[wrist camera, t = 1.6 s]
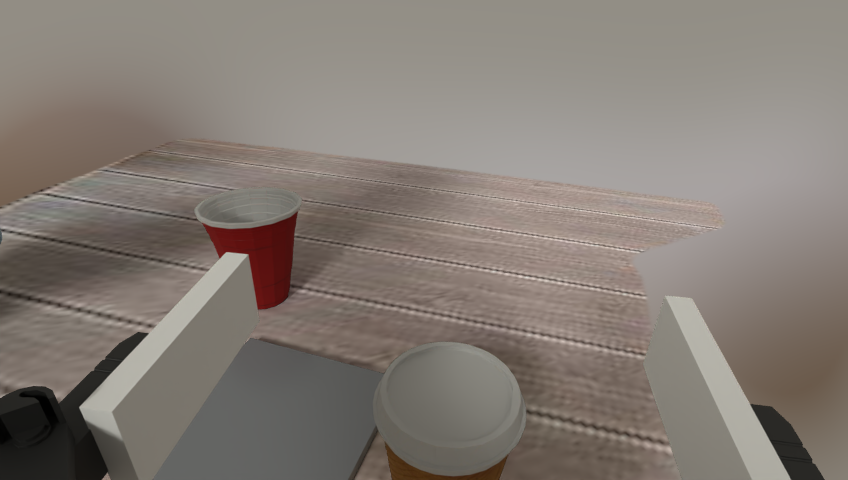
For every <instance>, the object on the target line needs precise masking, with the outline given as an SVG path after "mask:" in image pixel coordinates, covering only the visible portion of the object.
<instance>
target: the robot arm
mask: <svg viewBox="0 0 848 480" xmlns="http://www.w3.org/2000/svg"><path fill="white" fill-rule="evenodd" d="M1 241H2V233H1V230H0V244H1ZM259 321H260V320H259V314H258V308H257V302H256V296H255V291H254V285H253V279H252V273H251V267H250V261H249V255H248V254H240V253H230V252H226V253H225V254H224V255H223V256H222V257H221V258H220V259H219V260H218V261H217V262H216V263H215V265H214V266H213V267H212V268H211V269H210V270H209V271H208V272H207V273H206V274H205V275H204V276H203V277H202V278H201V279H200V280H199V281H198V282H197V284H196V285H195V286H194V287H193V288H192V289H191V290H190V291H189V292H188V293H187V294H186V295H185V296H184V297H183V298H182V299H181V300H180V301H179V303H178V304H177V305H176V306H175V307H174V308H173V309H172V310H171V311H170V312H169V313H168V314H167V315H166V316H165V317H164V318H163V319H162V320H161V321H160V323H159V324H158V325H157V326H156V327H155V328H154V329H153V330H152V331H151V332H150V333H141V332H138V333H136V334H134V335H133V336H131V337H129V338H128V339H126V340H124V341H122V342H121V343H119V344H118V345H117V346H116V347H115V348H114V349H113V350H112V351H111V352H110V353H109V354H108V355H107V356H106V359H105V360H102V361H101V362H100V363H99V364H98V365H97V366H96V367H95V368H94V371H91V372H90V373H89V374H88V375H87V376H86V377H85V378H84V379H83V380H82V381H81V382H80V383H79V384H78V385H77V386H76V387H75V388H74V389H73V390H72V391H71V392H70V393H69V394H68V395H67V396H66V397H65V398H64V399H63V400H62V401H61V402H60V403H59V404H58V401H57V399H56V397H55V395H54V393H53V391H52V390H51V389H49V388H47V387H43V386H32V387H27V388H22V389H19V390H16V391H14V392H11V393H9V394H7V395H5V396H3V397H2V398H0V480H102V479H103V477H104V476H105V475H106V473H107V472H108V474H109V476H110V479H111V480H152V479H153V478H154V476H155V475H156V473H157V472H158V470H159V469H160V467H161V466H162V464H163V463H164V461H165V460H166V458H167V457H168V455H169V454H170V453H171V451H172V450H173V448H174V447H175V445H176V444H177V442H178V441H179V439H180V438H181V436H182V435H183V433H184V432H185V430H186V429H187V427H188V426H189V424H190V423H191V421H192V420H193V419H194V417H195V416H196V414H197V413H198V411H199V410H200V408H201V407H202V405H203V404H204V402H205V401H206V399H207V398H208V396H209V395H210V393H211V392H212V390H213V389H214V388H215V386H216V385H217V383H218V382H219V380H220V379H221V377H222V376H223V374H224V373H225V371H226V370H227V368H228V367H229V365H230V364H231V362H232V361H233V359H234V358H235V356H236V355H237V354H238V352H239V351H240V349H241V348H242V346H243V345H244V343H245V342H246V340H247V339H248V337H249V336H250V334H251V333H252V331H253V330H254V328H255V327H256V325H257V324H258V322H259ZM643 366H644V369H645V372H646V375H647V378H648V381H649V384H650V387H651V390H652V393H653V396H654V399H655V402H656V404H657V407H658V410H659V413H660V416H661V419H662V422H663V425H664V428H665V431H666V434H667V437H668V440H669V443H670V446H671V449H672V452H673V455H674V458H675V461H676V464H677V467H678V470H679V472H680V475H681V478H682V480H824V478H823V476H822V475H821V473H820V471H819V470H818V468H817V467H816V465H815V464H813V463H812V458H811V457H810V455H809V454H808V452H807V450H806V449H805V448H803V446H802V445H803V444H802V442H801V441H800V439H799V437H798V436H797V434H796V432H795V431H794V429H793V427H792V426H791V424H790V423H789V422H787V421H786V420H785V419H784V418H783V417H782V416H781V415H780V414H779V413H778V412H777V411H776V410H775V409H773V408H772V407H770V406H762V405H753V404H749V402H748V400H747V398H746V396H745V395H744V393H743V391H742V389H741V387H740V385H739V384H738V382H737V380H736V378H735V376H734V375H733V373H732V371H731V369H730V368H729V365H728V364H727V362H726V360H725V358H724V356H723V354H722V353H721V351H720V349H719V347H718V345H717V343H716V342H715V340H714V338H713V336H712V335H711V332H710V331H709V329H708V327H707V325H706V323H705V321H704V320H703V318H702V316H701V314H700V312H699V311H698V309H697V307H696V305H695V303H694V302H693V300H692V298H684V297H673V296H665V298H664V301H663V303H662V307H661V310H660V313H659V316H658V319H657V323H656V325H655V328H654V332H653V335H652V338H651V341H650V344H649V347H648V350H647V353H646V356H645V360H644V363H643Z"/></svg>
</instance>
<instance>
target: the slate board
mask: <svg viewBox="0 0 848 480" xmlns="http://www.w3.org/2000/svg"><path fill="white" fill-rule="evenodd" d="M383 376H384V374H383V373H380V372H376V371H372V370H369V369H365V368H361V367H357V366H354V365H350V364H346V363H342V362H339V361H335V360H331V359H328V358H324V357H320V356H316V355H313V354H309V353H305V352H302V351H298V350H294V349H290V348H287V347H283V346H279V345H276V344H272V343H268V342H264V341H261V340H257V339H253V338H250V339H249V340H248V341H247V342H246V343H245V344H244V345H243V346H242V348H241V349H240V351H239V352H238V354H237V355H236V356H235V358H234V359H233V361H232V362H231V364H230V365H229V367H228V368H227V370H226V371H225V373H224V374H223V376H222V377H221V379H220V380H219V382H218V383H217V385H216V386H215V388H214V389H213V390H212V392H211V393H210V395H209V396H208V398H207V399H206V401H205V402H204V404H203V405H202V407H201V408H200V410H199V411H198V413H197V414H196V416H195V417H194V419H193V420H192V421H191V423H190V424H189V426H188V427H187V429H186V430H185V432H184V433H183V435H182V436H181V438H180V439H179V441H178V442H177V444H176V445H175V447H174V448H173V450H172V451H171V453H170V454H169V455H168V457H167V458H166V460H165V461H164V463H163V464H162V466H161V467H160V469H159V470H158V472H157V473H156V475H155V476H154V478H153V479H152V480H353V478H354V476H355V474H356V472H357V470H358V468H359V466H360V464H361V462H362V460H363V459H364V457H365V455H366V453H367V451H368V449H369V447H370V445H371V443H372V441H373V439H374V437H375V435H376V433H377V431H378V428H377V426H376V423H375V420H374V417H373V399H374V394H375V391H376V389H377V386H378V384H379V382H380V381H381V379H382V378H383Z"/></svg>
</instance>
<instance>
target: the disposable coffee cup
mask: <svg viewBox="0 0 848 480" xmlns="http://www.w3.org/2000/svg"><path fill="white" fill-rule="evenodd" d="M373 417H374V420H375V423H376V426H377V428H378V431H379V433H380V435H381V436H382V438H383V439H384V441H385V445H386V446H385V447H386V450H387V456H388V461H389V467H390V472H391V477H392V480H499V478H500V475H501V472H502V470H503V467H504V464H505V462H506V459H507V456H508V454H509V453H510V451H511V450H512V449H513V448H514V447H515V446H516V445H517V444H518V442H519V440H520V438H521V436H522V434H523V431H524V428H525V424H526V406H525V402H524V398H523V396H522V394H521V392H520V389H519V386H518V383H517V381H516V379H515V376H514V375H513V374H512V372H511V371H510V370H509V368H508V367H507V366H506V365H505V364H504V363H503V362H501V361H500V360H499V359H498V358H497V357H495V356H494V355H492V354H490V353H489V352H487V351H485V350H483V349H480V348H477V347H475V346H472V345H468V344H464V343H458V342H434V343H428V344H423V345H420V346H417V347H414V348H412V349H410V350H408V351H406V352H404V353H403V354H401V355H400V356H399V357H397V358H396V359H395V360H394V361H393V362H392V363H391V365H390V366H389V367H388V369H387V370H386V372H385V373H384V376H383V378H382V379H381V381H380V382H379V384H378V386H377V389H376V391H375V394H374V399H373Z"/></svg>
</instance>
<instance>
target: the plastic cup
mask: <svg viewBox="0 0 848 480" xmlns="http://www.w3.org/2000/svg"><path fill="white" fill-rule="evenodd" d="M301 202H302V198H301V197H300V196H299V195H298V194H297V193H295V192H292V191H289V190H286V189H281V188H272V187H256V188H244V189H238V190H231V191H227V192H224V193H220V194H217V195H214V196H211V197H209V198H207V199H206V200H204V201H202V202H200V203H199V204H198V205H197V207H196V208H195V209H194V212H195V214H196V217H197V219H198V220H199V221H200V222H202V224H203V225H204V227H205V228H206V231H207V233H209V236H210V238H211V241H212V242H213V243H214V246H215V248H216V251H217V253H218V256H219V258H221V257H222V256H223V255H224V254H225V253H226V252H230V253H240V254H248V255H249V261H250V267H251V273H252V279H253V285H254V291H255V296H256V302H257V308H258V309H267V308H270V307H274V306H276V305H278V304H280V303H282V302H283V301H284V300H285V299H286V298H287V296H288V292H289V288H290V277H291V269H292V260H293V246H294V232H295V226H296V219H297V213H298V211H299V210H300V206H301Z"/></svg>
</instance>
